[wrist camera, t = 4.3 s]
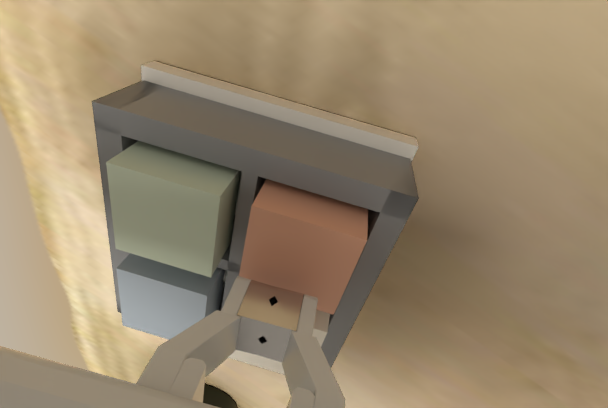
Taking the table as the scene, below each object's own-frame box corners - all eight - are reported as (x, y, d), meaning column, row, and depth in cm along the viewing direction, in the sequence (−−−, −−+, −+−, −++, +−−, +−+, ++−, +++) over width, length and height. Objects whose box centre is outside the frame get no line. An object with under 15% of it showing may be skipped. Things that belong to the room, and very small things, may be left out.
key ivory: (251, 268, 16) (235, 304, 14) (332, 292, 16) (327, 332, 14) (240, 319, 18) (225, 357, 16) (312, 341, 18) (305, 381, 16)
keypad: (153, 60, 15) (87, 83, 11) (416, 138, 15) (429, 184, 11) (158, 313, 25) (123, 366, 22) (314, 360, 25) (304, 422, 21)
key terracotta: (268, 175, 13) (251, 205, 11) (368, 204, 13) (367, 240, 11) (253, 250, 15) (237, 285, 13) (338, 275, 15) (333, 314, 13)
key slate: (145, 236, 16) (116, 268, 14) (226, 260, 16) (207, 296, 14) (148, 291, 18) (122, 325, 16) (218, 313, 18) (201, 349, 16)
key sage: (143, 137, 13) (106, 162, 11) (241, 167, 13) (220, 196, 11) (146, 217, 15) (115, 248, 14) (230, 243, 15) (211, 277, 14)
